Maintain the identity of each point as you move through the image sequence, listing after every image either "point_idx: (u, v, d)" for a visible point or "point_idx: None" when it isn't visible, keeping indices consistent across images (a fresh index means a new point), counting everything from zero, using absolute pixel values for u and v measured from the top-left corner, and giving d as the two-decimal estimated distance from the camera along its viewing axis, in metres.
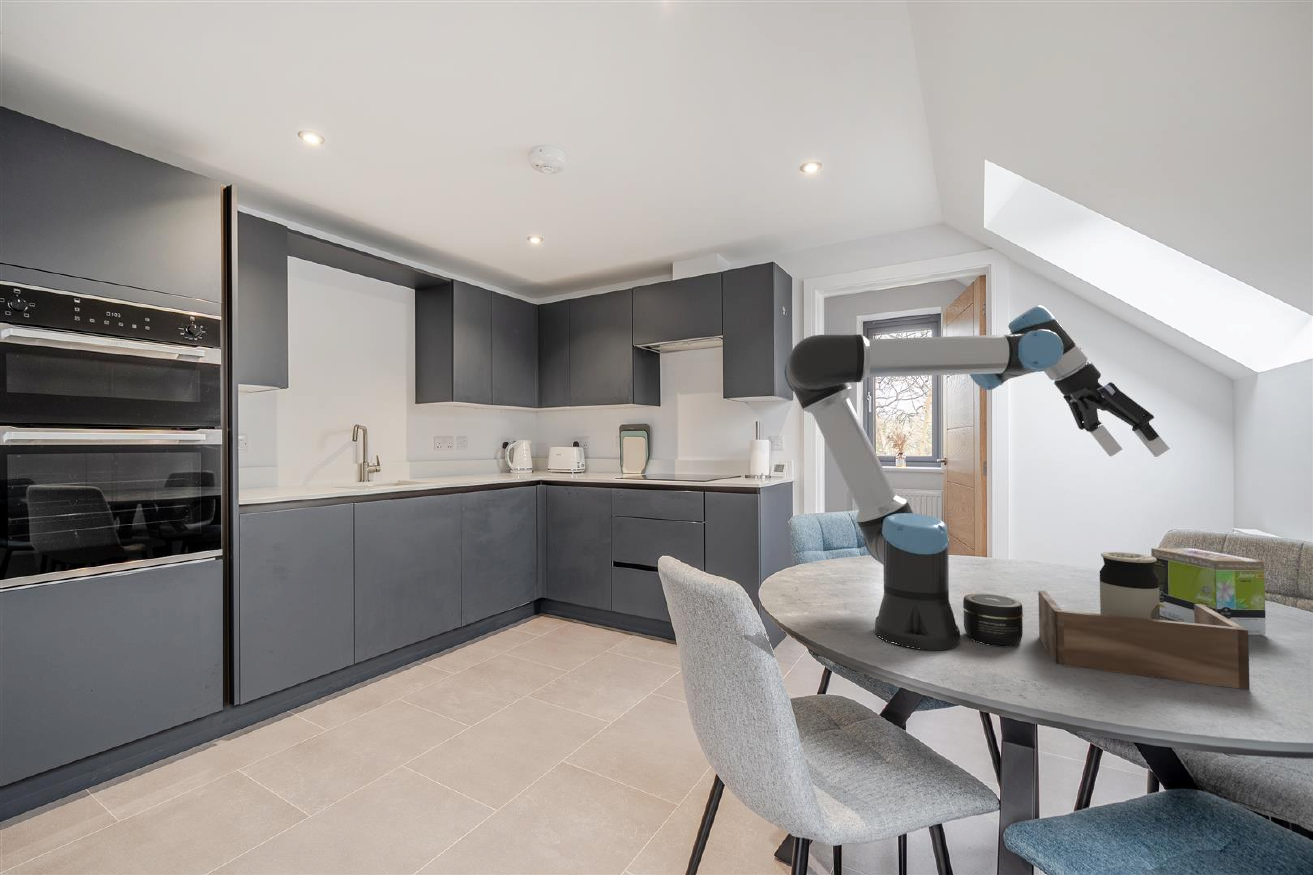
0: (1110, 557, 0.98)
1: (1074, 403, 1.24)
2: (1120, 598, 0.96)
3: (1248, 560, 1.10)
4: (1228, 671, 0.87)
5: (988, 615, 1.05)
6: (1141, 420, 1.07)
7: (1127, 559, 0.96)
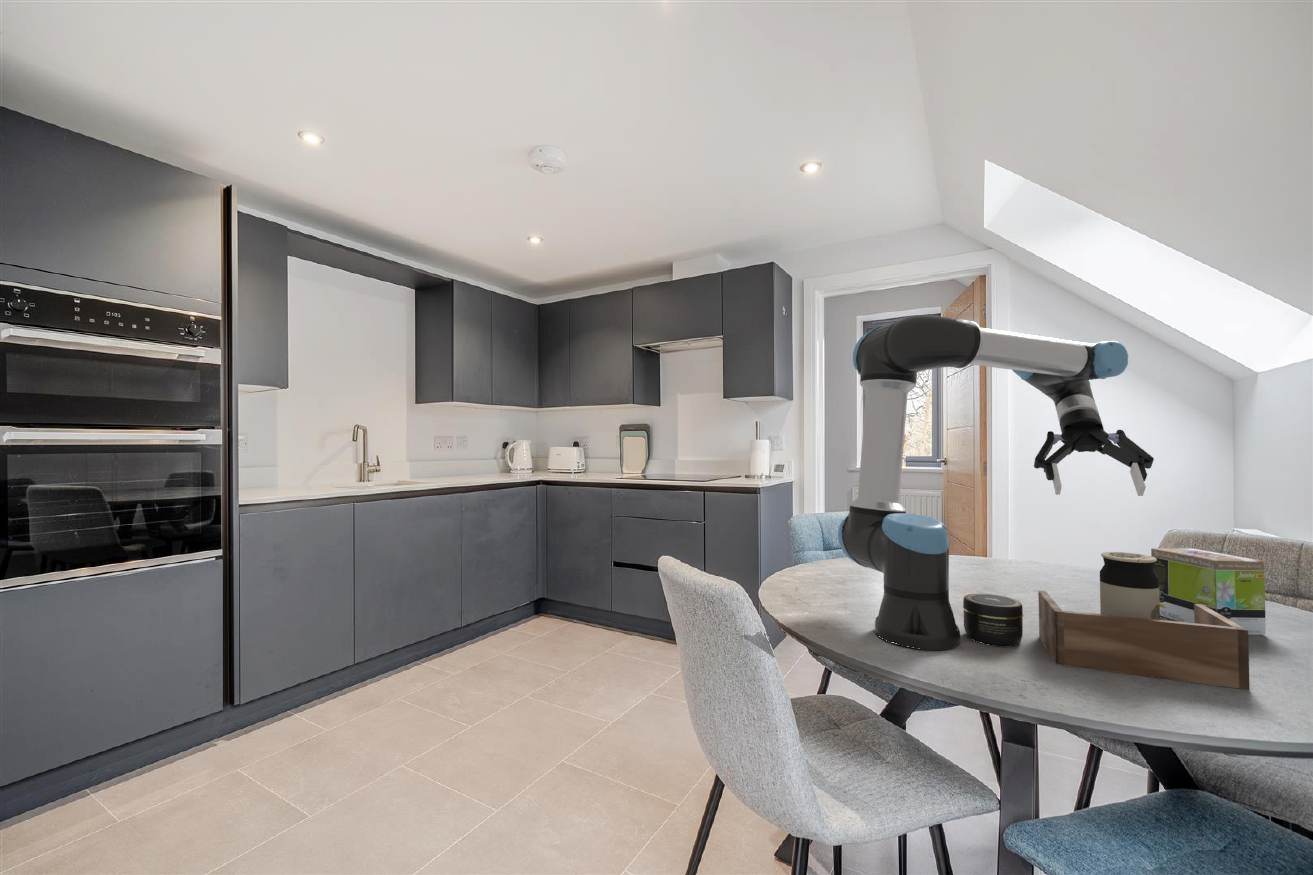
0: (1110, 557, 0.98)
1: (1053, 441, 1.25)
2: (1120, 598, 0.96)
3: (1248, 560, 1.10)
4: (1228, 671, 0.87)
5: (988, 615, 1.05)
6: None
7: (1127, 559, 0.96)
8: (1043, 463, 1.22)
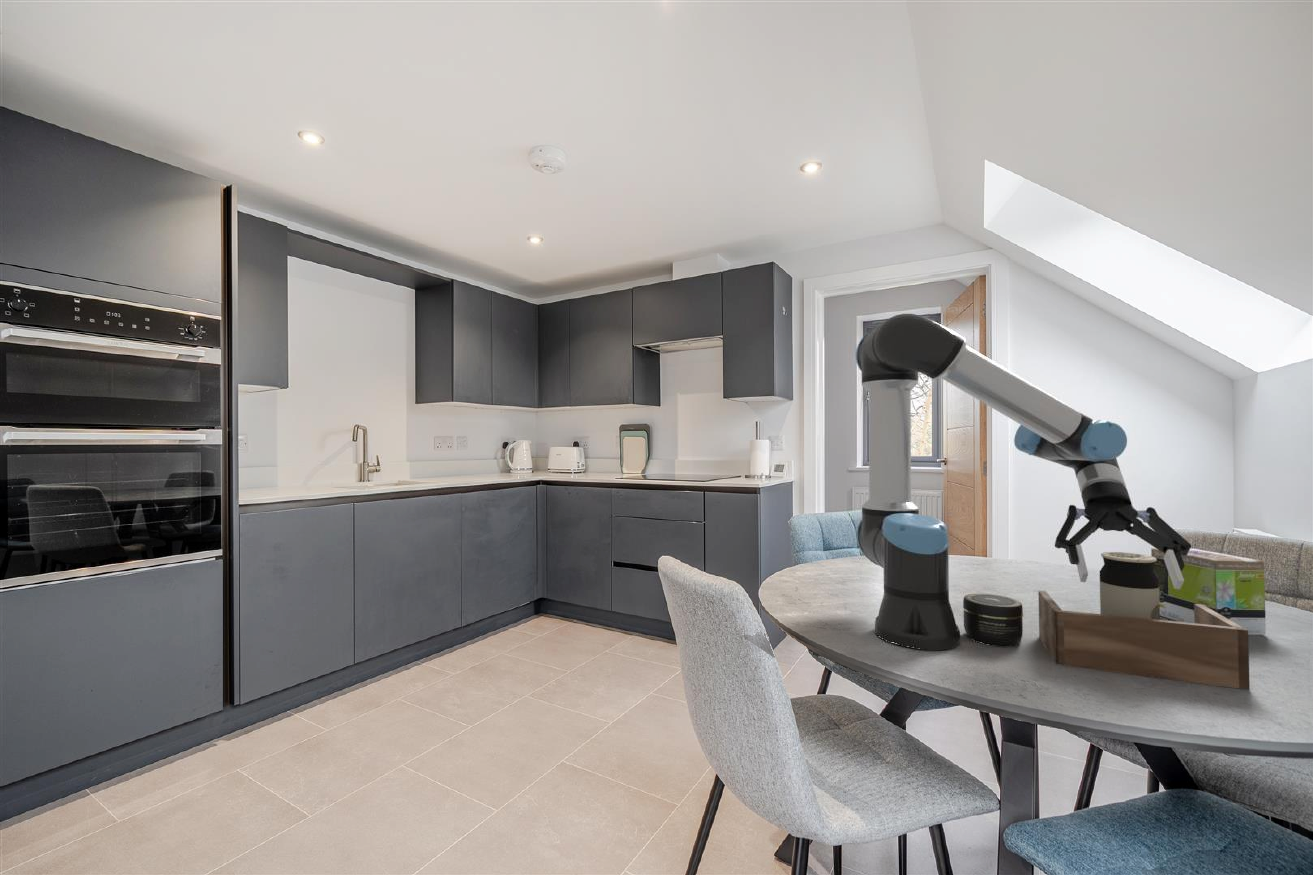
0: (1110, 557, 0.98)
1: (1075, 516, 1.12)
2: (1120, 598, 0.96)
3: (1248, 560, 1.10)
4: (1228, 671, 0.87)
5: (988, 615, 1.05)
6: None
7: (1127, 559, 0.96)
8: (1066, 544, 1.09)
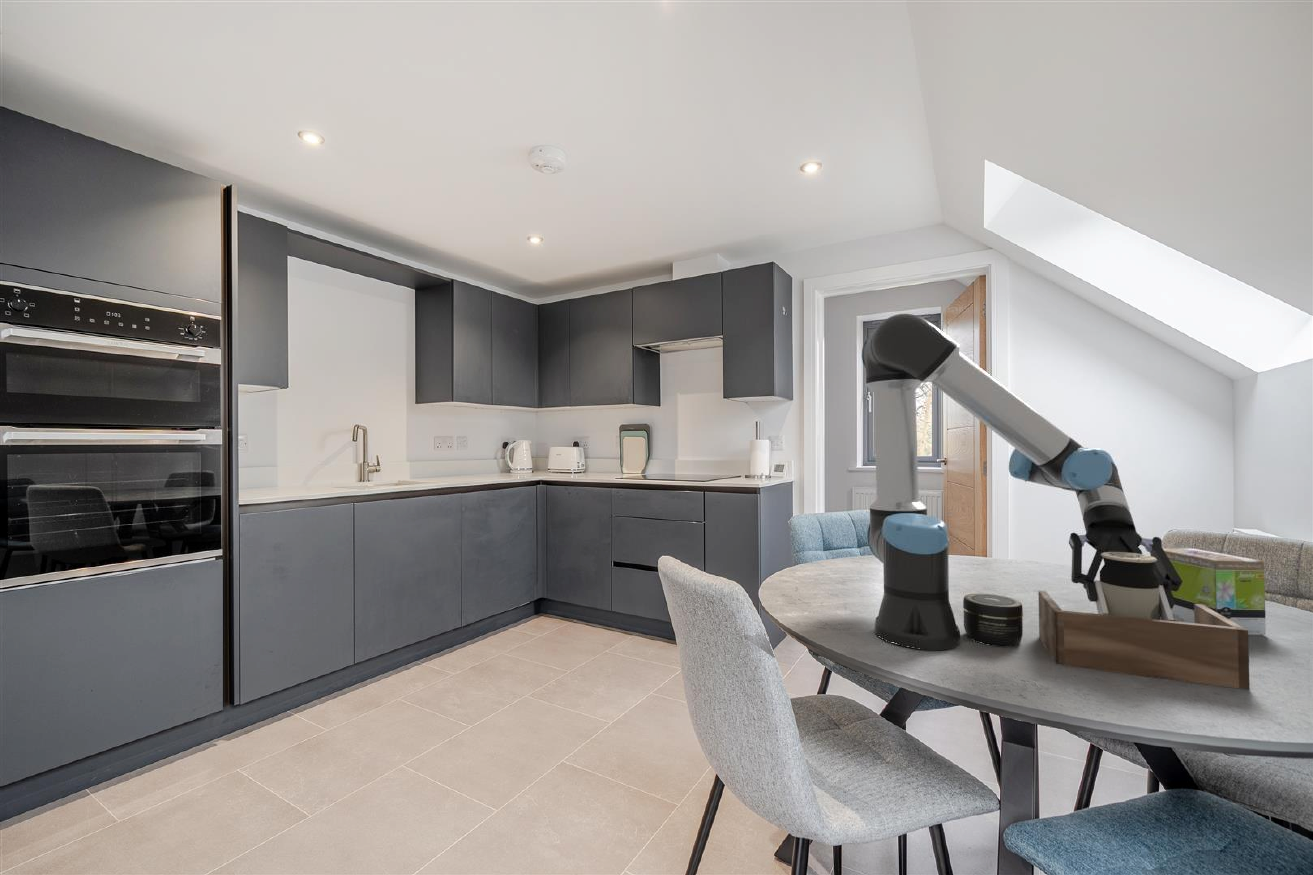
0: (1110, 557, 0.98)
1: None
2: (1120, 598, 0.96)
3: (1248, 560, 1.10)
4: (1228, 671, 0.87)
5: (988, 615, 1.05)
6: None
7: (1127, 559, 0.96)
8: (1084, 579, 1.02)
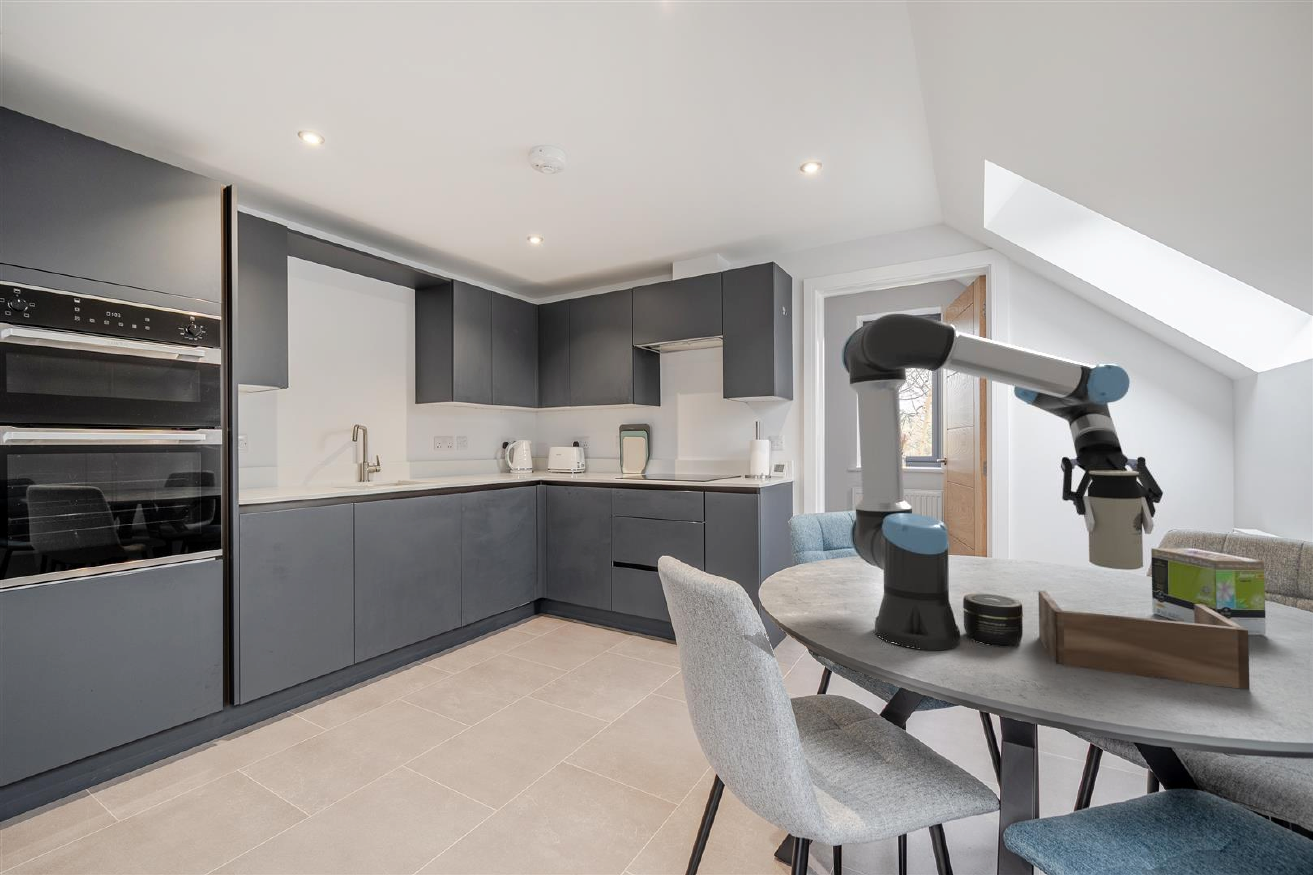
0: (1096, 472, 1.07)
1: None
2: (1105, 508, 1.05)
3: (1248, 560, 1.10)
4: (1228, 671, 0.87)
5: (988, 615, 1.05)
6: None
7: (1112, 473, 1.05)
8: (1073, 495, 1.11)
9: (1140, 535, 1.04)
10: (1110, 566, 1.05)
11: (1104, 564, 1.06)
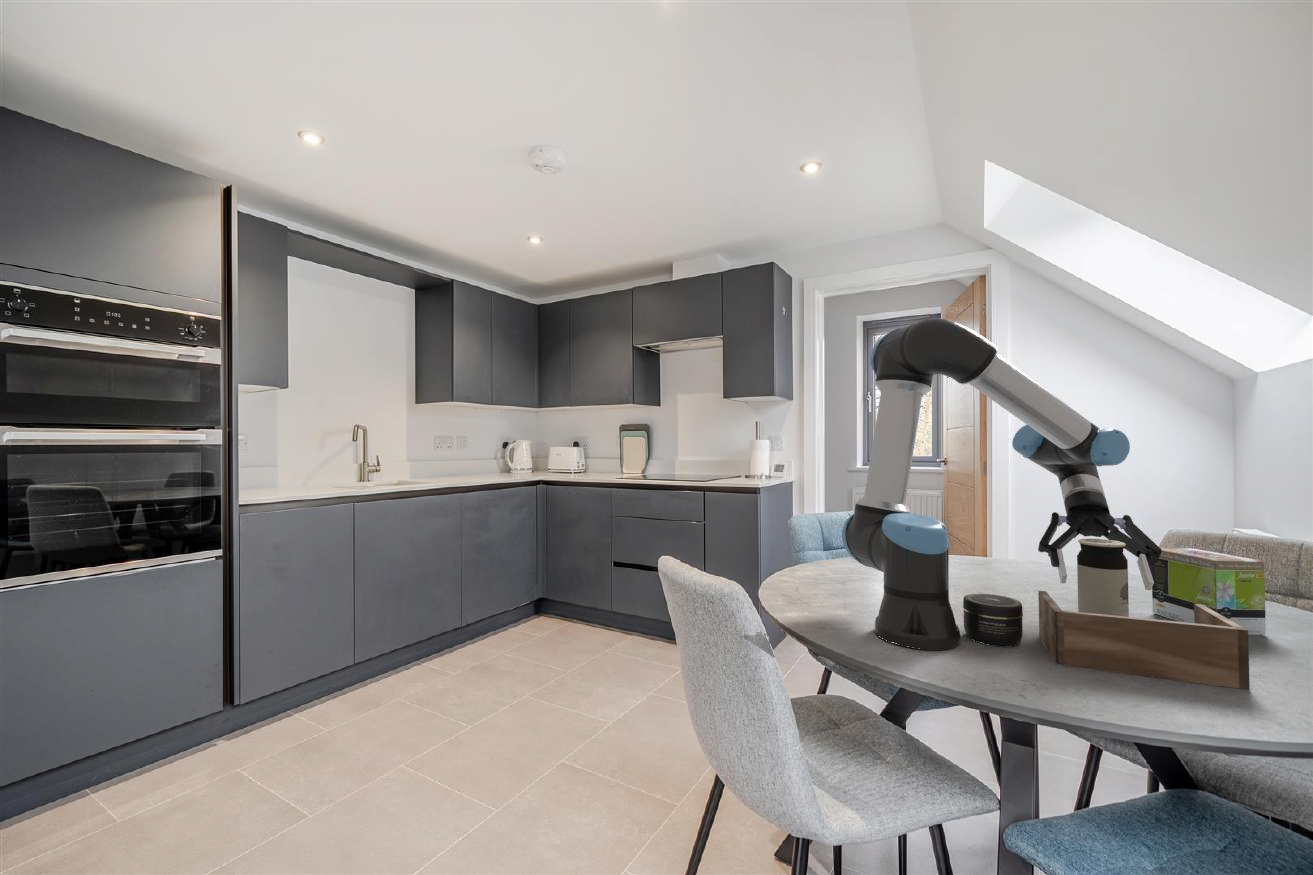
0: (1085, 542, 1.12)
1: (1058, 523, 1.22)
2: (1093, 578, 1.11)
3: (1248, 560, 1.10)
4: (1228, 671, 0.87)
5: (988, 615, 1.05)
6: None
7: (1100, 544, 1.10)
8: (1048, 548, 1.18)
9: (1126, 604, 1.09)
10: None
11: None
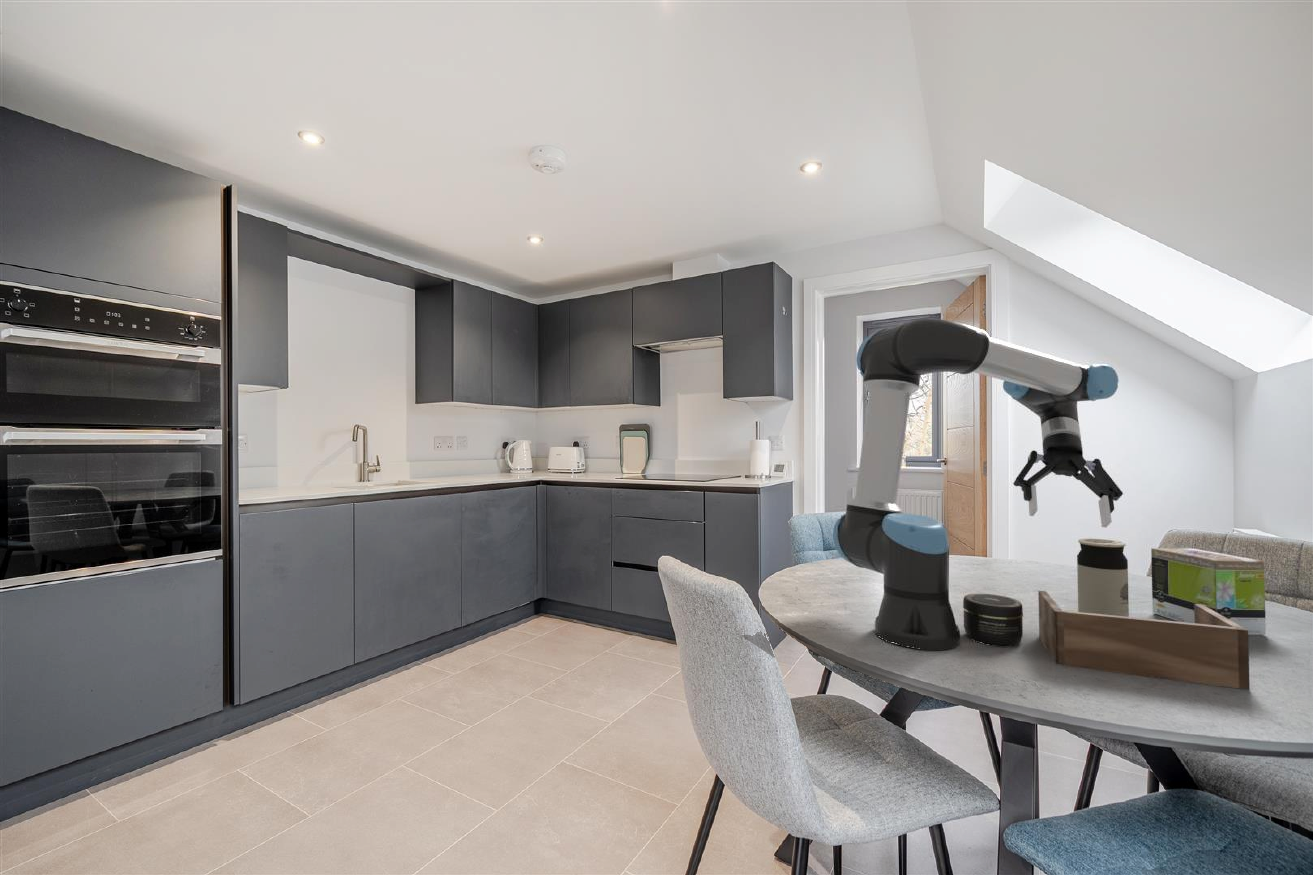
0: (1086, 542, 1.12)
1: (1035, 460, 1.31)
2: (1093, 578, 1.11)
3: (1248, 560, 1.10)
4: (1228, 671, 0.87)
5: (988, 615, 1.05)
6: None
7: (1100, 544, 1.10)
8: (1023, 483, 1.28)
9: (1126, 604, 1.09)
10: None
11: None
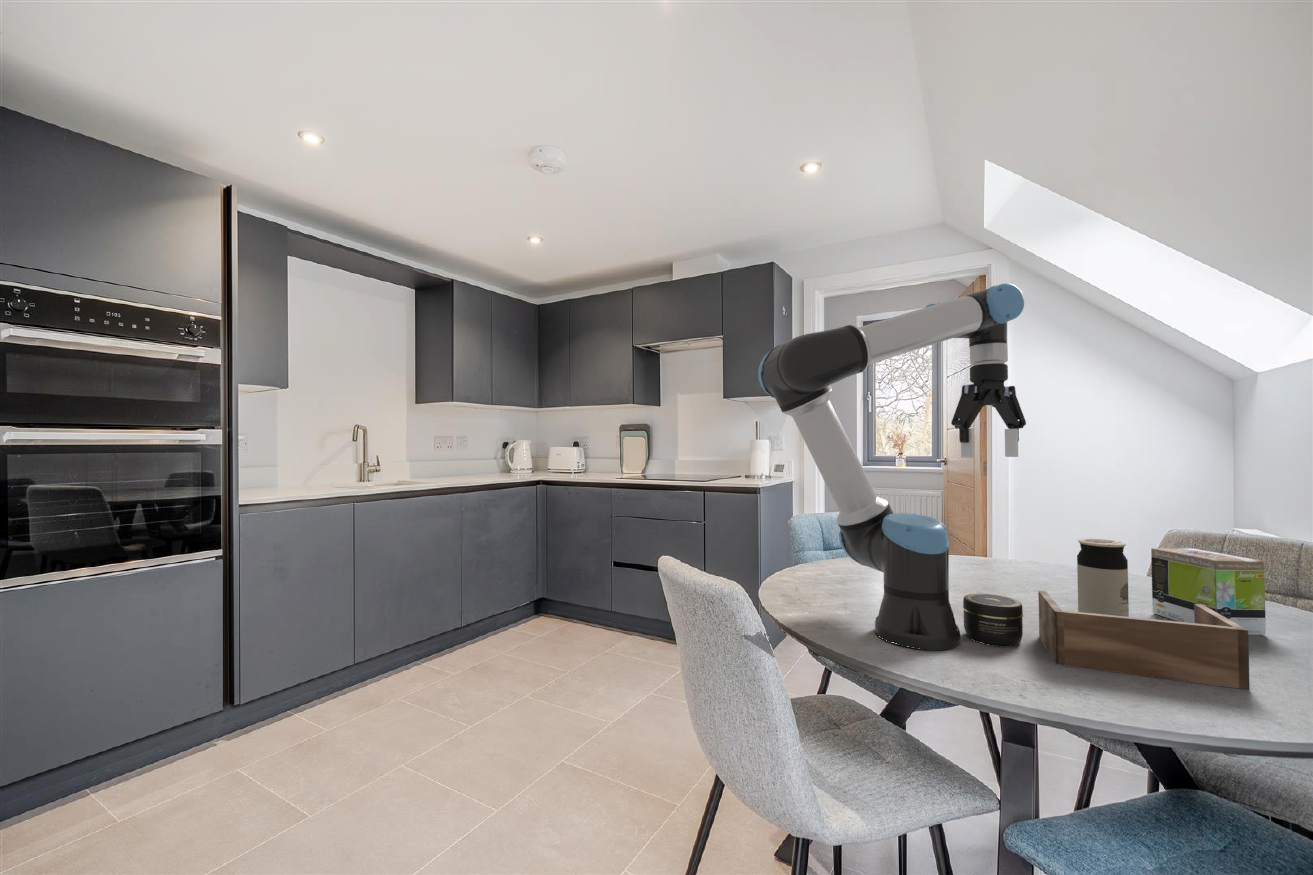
0: (1085, 542, 1.12)
1: None
2: (1093, 578, 1.11)
3: (1248, 560, 1.10)
4: (1228, 671, 0.87)
5: (988, 615, 1.05)
6: None
7: (1100, 544, 1.10)
8: (963, 426, 1.25)
9: (1126, 604, 1.09)
10: None
11: None
